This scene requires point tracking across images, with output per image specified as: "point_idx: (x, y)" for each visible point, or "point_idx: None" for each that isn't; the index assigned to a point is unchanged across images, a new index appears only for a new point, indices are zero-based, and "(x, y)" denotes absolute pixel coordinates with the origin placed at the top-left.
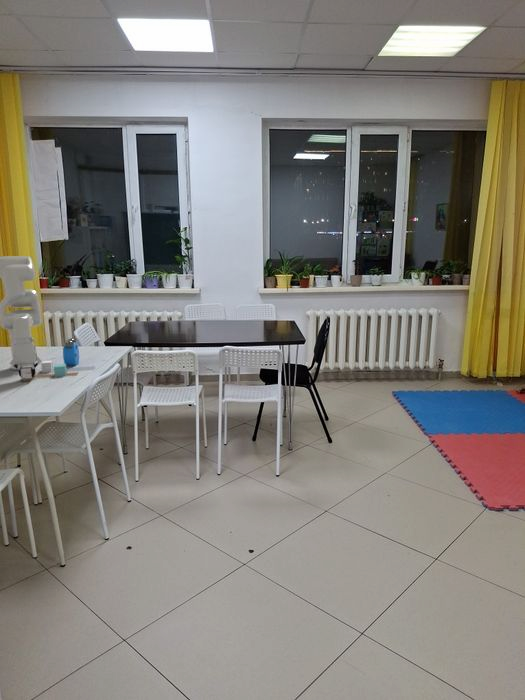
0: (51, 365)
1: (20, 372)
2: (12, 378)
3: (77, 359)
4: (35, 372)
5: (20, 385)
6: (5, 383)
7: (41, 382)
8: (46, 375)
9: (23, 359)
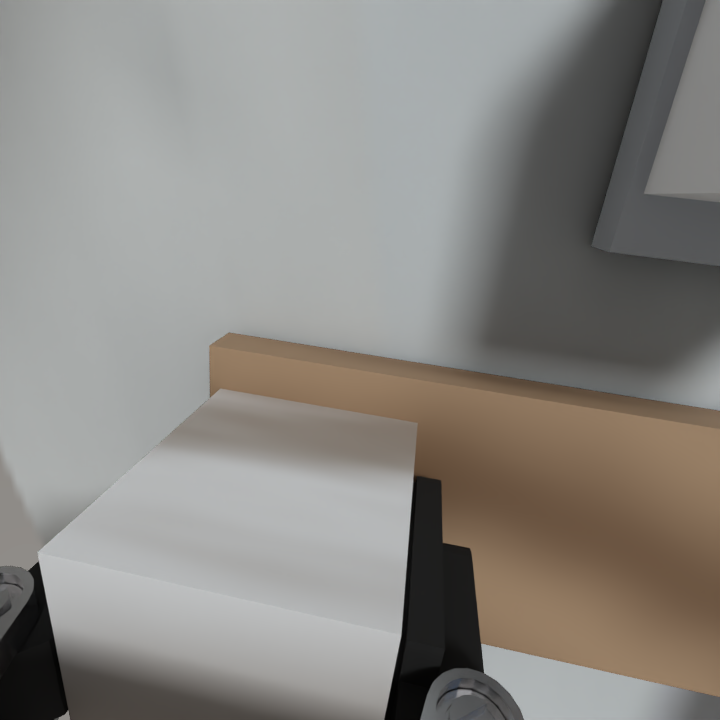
0: None
1: None
2: (22, 270)
3: None
4: (471, 577)
5: None
6: (35, 527)
7: (540, 706)
8: (696, 540)
9: None
